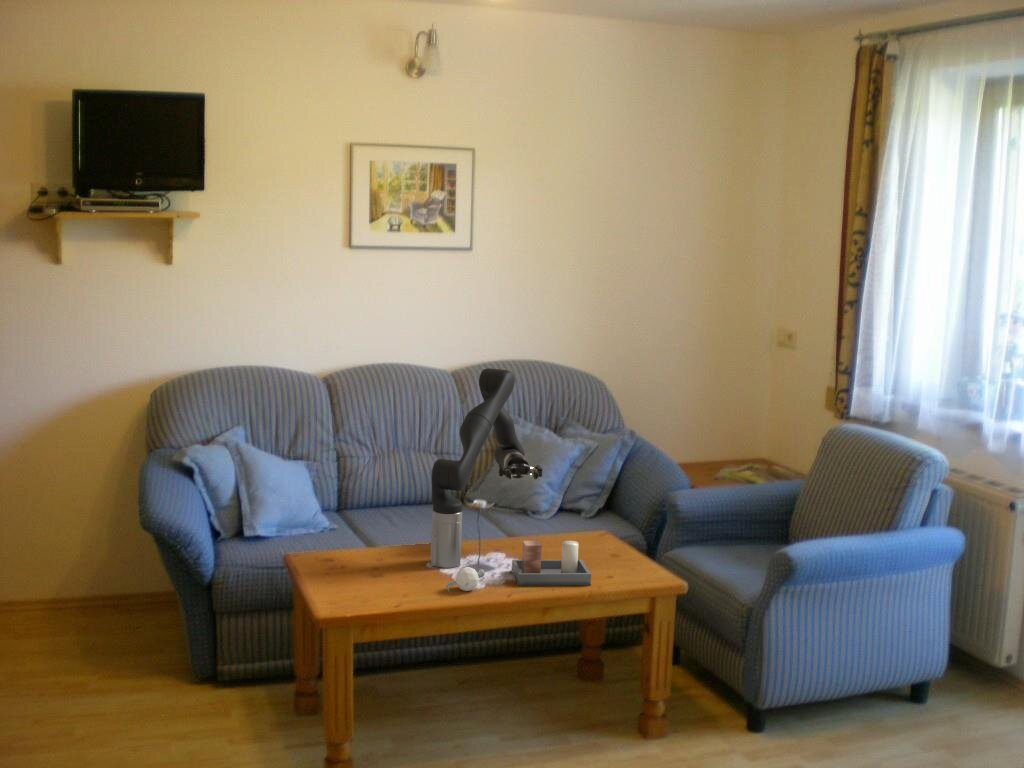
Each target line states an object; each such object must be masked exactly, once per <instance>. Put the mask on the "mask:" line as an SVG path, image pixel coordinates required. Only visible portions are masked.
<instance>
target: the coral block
mask: <svg viewBox="0 0 1024 768" xmlns="http://www.w3.org/2000/svg"><path fill="white" fill-rule="evenodd" d="M542 547H543V545H542V543H541V542H540V540H522V552H521V554H522V555H521V560H522V573H540V572H541V560H542Z"/></svg>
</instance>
